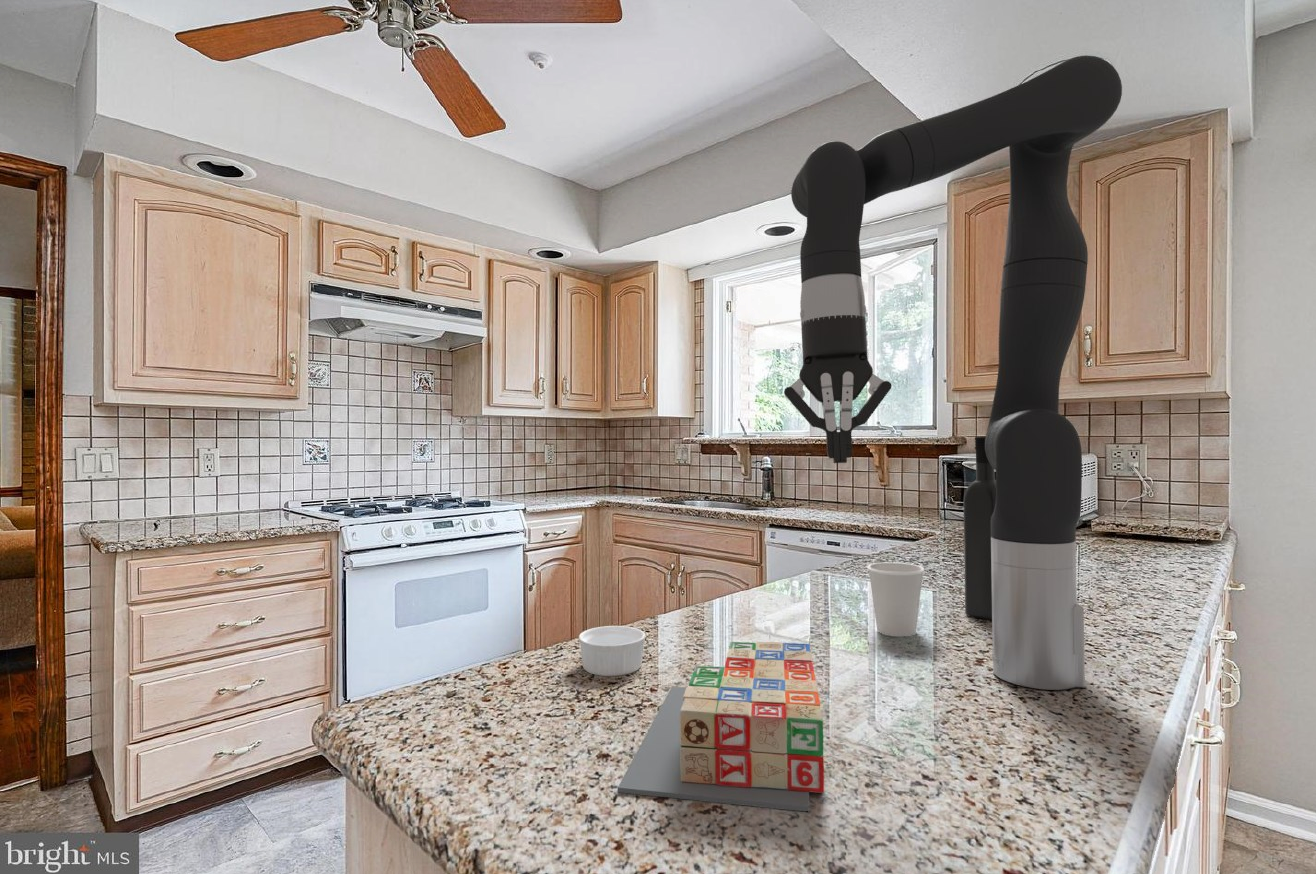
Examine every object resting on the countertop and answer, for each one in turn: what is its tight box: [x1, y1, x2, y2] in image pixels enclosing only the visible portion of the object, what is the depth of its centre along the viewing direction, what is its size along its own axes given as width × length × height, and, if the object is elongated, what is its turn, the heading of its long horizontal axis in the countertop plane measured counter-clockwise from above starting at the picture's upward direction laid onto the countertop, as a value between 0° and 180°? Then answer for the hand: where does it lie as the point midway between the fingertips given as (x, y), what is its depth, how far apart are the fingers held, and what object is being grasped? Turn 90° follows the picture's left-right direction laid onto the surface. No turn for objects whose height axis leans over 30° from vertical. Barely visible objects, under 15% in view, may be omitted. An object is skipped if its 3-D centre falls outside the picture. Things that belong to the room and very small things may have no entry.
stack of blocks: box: [680, 641, 825, 794], centre depth 67 cm, size 21×6×12 cm
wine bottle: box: [962, 436, 996, 621], centre depth 112 cm, size 6×6×30 cm
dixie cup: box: [866, 561, 925, 637], centre depth 104 cm, size 8×8×10 cm
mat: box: [617, 686, 810, 813], centre depth 67 cm, size 16×24×1 cm, turn 168°
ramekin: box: [578, 625, 646, 677], centre depth 90 cm, size 9×9×4 cm
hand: (839, 462), depth 80 cm, fingers closed
